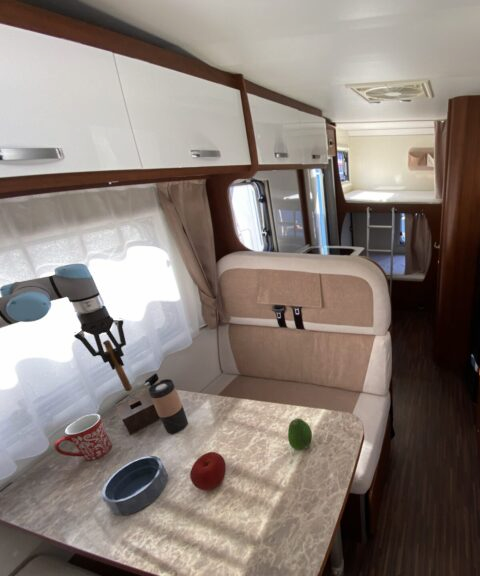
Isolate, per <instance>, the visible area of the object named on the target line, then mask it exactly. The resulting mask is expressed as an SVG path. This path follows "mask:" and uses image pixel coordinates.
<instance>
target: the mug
mask: <svg viewBox="0 0 480 576" xmlns="http://www.w3.org/2000/svg"><path fill="white" fill-rule="evenodd" d="M101 418H102V417H101V415H100V414H99V413H91V414H87V415H84V416H82V417H80V418H77V419H76V420H74V421H73V422H71V423H70V424H68V426H66V428H65V430H64V433H65V435H66V436H62V437H61V438H59V439H57V440H56V441H55V443H54V449H55V451H56V452H57V453H59V454H61V455H64V456H67V457H68V456H69V457H80V458H81V457H82V458H84V460H86V461H96V460H98V459H100V458H101V457H103V456H105V455H106V454H107V453H108V452H109V451H111V449H112V443H111V441H110V438H109V436H108V434H107V431H106V428H105V426H104V423H103V421H102V419H101ZM65 441H67V442H70V443H73V444H74V446H75V447H76V449H77V450H78V451H75V452H72V451H67V450H62V449H61V448H60V447H59V445H60V444H61V443H62V442H65Z"/></svg>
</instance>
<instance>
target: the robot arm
mask: <svg viewBox="0 0 480 576" xmlns="http://www.w3.org/2000/svg"><path fill="white" fill-rule="evenodd" d="M64 298H67V299H68V302H69V303H70V306H71V307H72V309H73V311H74V313H76V314H75V315H76V317H77V319H78V322H79V323H80V329H79V330H78V331H75V332H74V333H73V336H74V338H75V339H76V340H79V341H80V342H81V343H82V344H83V346H84V347H85V348H86V349H87V350H88V352H89V353H90V354H91V356H92V357H97V356H100V358H101V360H102V361H103V363H104V364H107V363H109V366H110V368H111V370H113V371H114V370H115V367H114V365H113V363H112V361H111V359H110V357H109V355H108V353H107V351H106V350H105V349H104V345H103V342H102V340H101V337H100V335H101V334H105V333H106V335H107V337H108V338H109V341H110V342H111V344H112V345H113V346H114V347H115V348H114V347H113V349H114V351H115V353H116V355H117V358H118V360H119V362H120V364H121V366H122V367H124V366H125V363H124V361H123V360H122V357H123V356H125V354H124V351H123V350H122V348H124V347H125V346H126V345H127V341H126V336H125V331H124V328H123V326H124V320H123V319H122V318H113V317H112V316H110V313H109V311H108V309H107V307H106V306H105V302H104V300H103V297H102V295H101V294H100V292H99V289H98V286H97V284H96V282H95V279H94V277H93V275H92V274H91V272H90V270H89V268H88V266H87V265H86V264H84V263H79V262H78V263H69V264H65V265H61V266H57V267H55V268H54V274H52V275H49V276H48V275H47V276H44V277H38V278H32V279H27V280H21V281H14V282H13V283H9V284H4V285H2V286H0V329H2V328H5V327H8V326H11V325H15V324H18V323H30V322H36V321H40V320H42V319H43V318H45V317H46V316H47V314H48V313H49V311H50V310H51V307H52V301H57V300H60V299H64ZM113 324H114V325H115V327H116V329H117V333H118V338H119V343H118V340H117V339H116V338H115V336H114V335H113V333H112V331H111V328H112V326H113ZM85 333H87V334H88V335H91V336H93V338H94V341H95V344H96V347H97V350H96V349H95V347H93V345H92V344H91V343H90V342H89V340H88V339H87V338H86V337H85Z"/></svg>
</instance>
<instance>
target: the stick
mask: <svg viewBox="0 0 480 576" xmlns="http://www.w3.org/2000/svg"><path fill="white" fill-rule="evenodd" d="M102 346H103V348H104V350H105V352H106V351H107V353H108V355H109V357H110V359H111V361H112V363H113V365H114V367H115V369H114V370H115V372H116V374H117V376H118V378H119V380H120V382H121V384H122V386H123V388H124V391H126V392H130V391H131V390H132V389H133V386H132V384H131V383H130V380H129V378H128V376H127V374H126V372H125V369H124V368H123V366H121V364H120V362H119V360H118V358H117V355H116V353H115V351H114V347H113V343H112V341H111V340H110V339H104V340H103V341H102Z"/></svg>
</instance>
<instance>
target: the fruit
mask: <svg viewBox="0 0 480 576" xmlns="http://www.w3.org/2000/svg"><path fill="white" fill-rule="evenodd" d="M287 439H288V443H289V446H290V447H291V448H292V449H294V450H296V451H301V450H304V449H306V448H307V447H308V446H310V444H311V441H312V439H313V433H312V429H311V426H310V425H309V424H308V423H307V422H306V421H305V420H303V419H302V418H294V419H293V420H291V421H290V423H289V425H288V431H287Z"/></svg>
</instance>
